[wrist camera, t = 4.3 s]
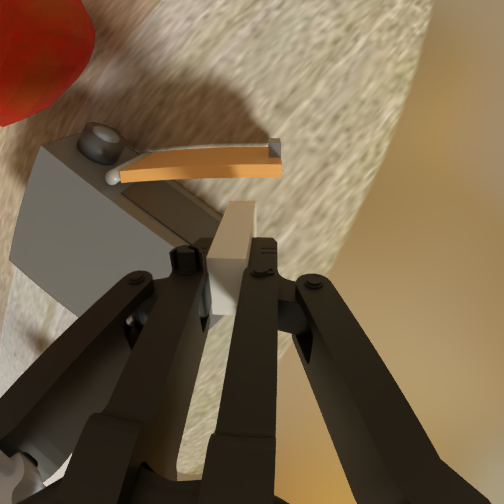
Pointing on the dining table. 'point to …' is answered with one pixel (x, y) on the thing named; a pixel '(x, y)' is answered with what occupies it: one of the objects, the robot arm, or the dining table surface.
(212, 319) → the grey box
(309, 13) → the dining table surface
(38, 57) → the apple
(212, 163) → the side door
